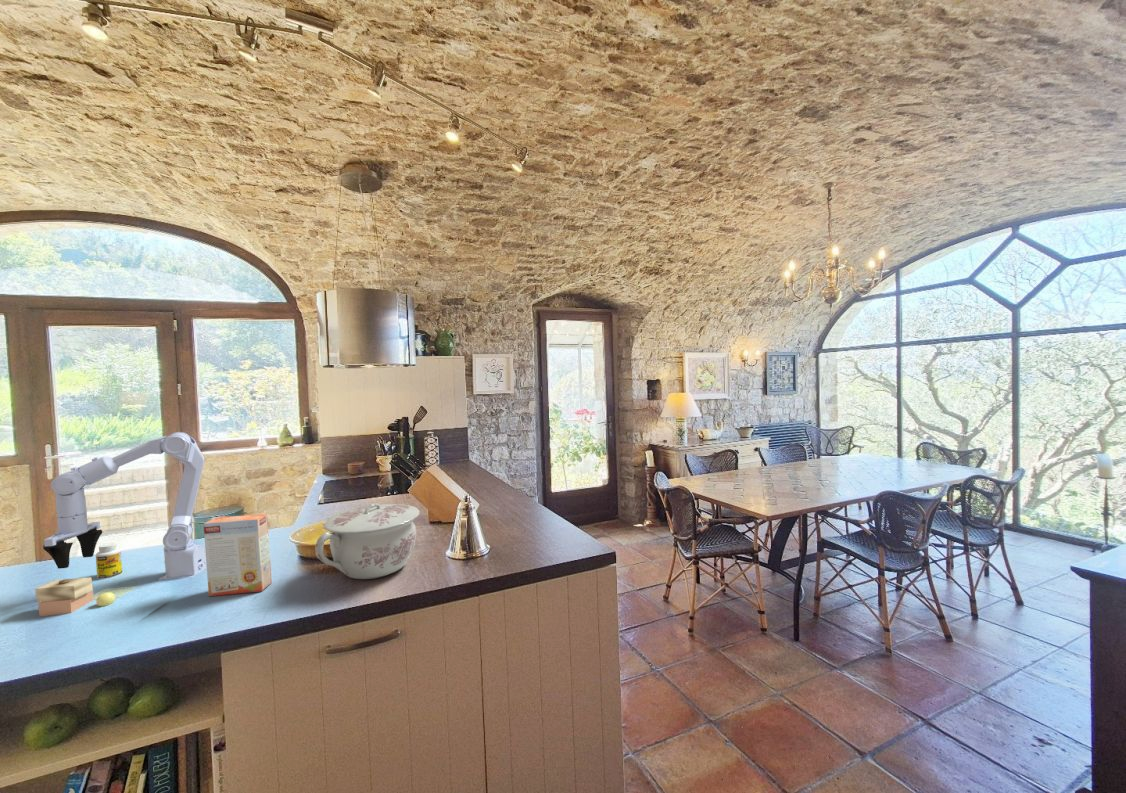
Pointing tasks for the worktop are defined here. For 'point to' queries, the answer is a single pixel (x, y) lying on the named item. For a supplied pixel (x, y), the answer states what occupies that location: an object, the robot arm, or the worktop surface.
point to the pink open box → (64, 605)
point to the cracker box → (237, 554)
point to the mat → (115, 591)
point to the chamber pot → (370, 540)
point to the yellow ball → (105, 599)
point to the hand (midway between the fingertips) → (76, 562)
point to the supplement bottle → (108, 561)
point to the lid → (63, 589)
